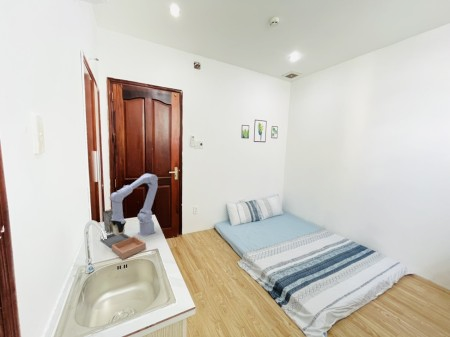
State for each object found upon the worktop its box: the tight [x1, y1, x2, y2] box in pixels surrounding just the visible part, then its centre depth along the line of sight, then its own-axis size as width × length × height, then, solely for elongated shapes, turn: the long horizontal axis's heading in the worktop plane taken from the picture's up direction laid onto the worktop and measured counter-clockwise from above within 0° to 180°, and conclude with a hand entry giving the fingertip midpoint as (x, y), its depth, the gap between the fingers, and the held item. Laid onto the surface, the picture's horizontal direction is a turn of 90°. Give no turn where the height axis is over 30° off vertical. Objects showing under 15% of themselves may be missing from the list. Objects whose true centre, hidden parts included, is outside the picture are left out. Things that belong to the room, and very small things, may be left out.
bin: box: [111, 236, 147, 260], centre depth 118 cm, size 14×14×4 cm
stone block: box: [112, 225, 126, 235], centre depth 124 cm, size 5×5×5 cm
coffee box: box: [102, 208, 114, 234], centre depth 143 cm, size 9×6×16 cm
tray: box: [99, 232, 132, 249], centre depth 128 cm, size 13×16×2 cm
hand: (119, 231), depth 124 cm, fingers closed on stone block, 5 cm apart
